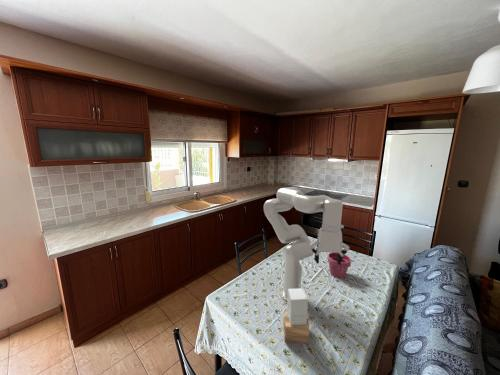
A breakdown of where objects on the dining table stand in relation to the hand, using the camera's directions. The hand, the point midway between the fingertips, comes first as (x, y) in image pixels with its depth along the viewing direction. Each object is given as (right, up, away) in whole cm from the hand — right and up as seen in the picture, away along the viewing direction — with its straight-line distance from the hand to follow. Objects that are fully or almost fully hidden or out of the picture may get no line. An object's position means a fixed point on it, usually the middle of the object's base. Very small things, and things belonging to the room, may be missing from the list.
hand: (327, 262), depth 94 cm
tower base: (-15, -33, 0) cm, 36 cm away
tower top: (-14, -29, 0) cm, 32 cm away
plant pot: (+24, -25, +46) cm, 57 cm away
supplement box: (-14, -25, -1) cm, 29 cm away
